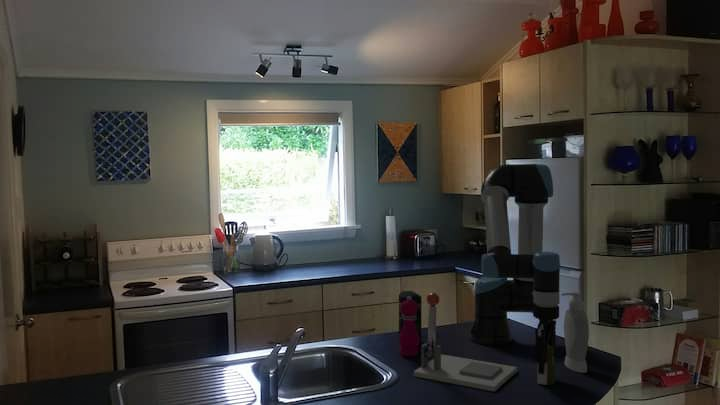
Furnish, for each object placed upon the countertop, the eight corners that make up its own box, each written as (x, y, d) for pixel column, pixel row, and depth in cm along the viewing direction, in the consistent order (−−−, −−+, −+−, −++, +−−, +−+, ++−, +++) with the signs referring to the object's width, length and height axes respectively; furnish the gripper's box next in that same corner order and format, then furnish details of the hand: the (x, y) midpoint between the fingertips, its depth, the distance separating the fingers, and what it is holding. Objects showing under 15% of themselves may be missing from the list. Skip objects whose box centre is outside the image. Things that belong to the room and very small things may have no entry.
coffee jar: (424, 345, 232) (424, 294, 231) (402, 346, 231) (402, 295, 230) (417, 337, 242) (417, 288, 241) (396, 339, 241) (396, 289, 239)
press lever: (427, 356, 206) (430, 291, 206) (439, 358, 204) (441, 292, 204) (422, 358, 202) (424, 292, 202) (433, 360, 200) (436, 294, 200)
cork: (556, 385, 191) (556, 348, 190) (535, 384, 192) (535, 347, 191) (554, 378, 197) (555, 342, 196) (534, 377, 198) (534, 341, 197)
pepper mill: (396, 355, 221) (395, 297, 220) (402, 349, 228) (402, 293, 227) (416, 357, 219) (416, 298, 217) (422, 351, 225) (422, 294, 224)
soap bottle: (550, 363, 211) (551, 289, 210) (571, 361, 213) (572, 288, 211) (572, 376, 199) (573, 297, 197) (594, 374, 200) (596, 296, 199)
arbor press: (441, 358, 217) (441, 333, 216) (516, 371, 203) (517, 345, 203) (413, 376, 200) (413, 349, 199) (494, 391, 186) (494, 362, 186)
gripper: (542, 297, 203) (542, 369, 204) (523, 309, 187) (523, 387, 188) (567, 299, 199) (566, 373, 200) (549, 312, 183) (549, 392, 184)
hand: (545, 380), depth 194 cm, fingers closed on cork, 6 cm apart
